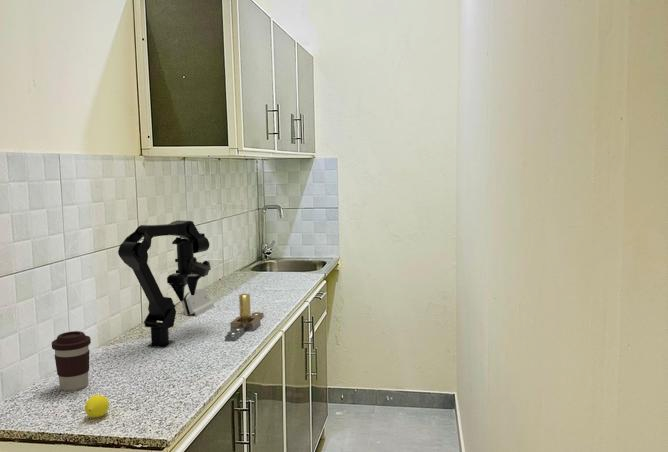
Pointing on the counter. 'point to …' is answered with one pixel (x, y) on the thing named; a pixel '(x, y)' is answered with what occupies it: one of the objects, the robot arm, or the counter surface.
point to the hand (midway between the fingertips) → (187, 298)
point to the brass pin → (244, 308)
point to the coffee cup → (72, 359)
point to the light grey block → (196, 302)
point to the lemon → (96, 406)
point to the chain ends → (243, 326)
